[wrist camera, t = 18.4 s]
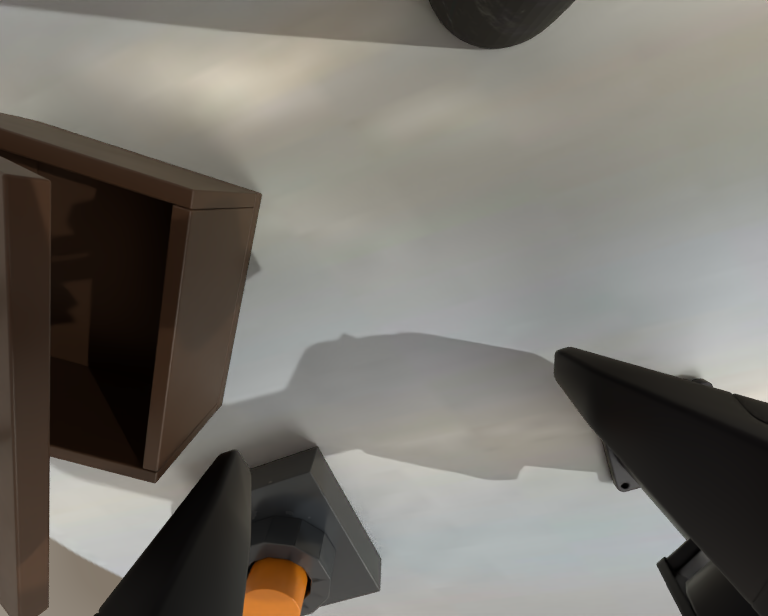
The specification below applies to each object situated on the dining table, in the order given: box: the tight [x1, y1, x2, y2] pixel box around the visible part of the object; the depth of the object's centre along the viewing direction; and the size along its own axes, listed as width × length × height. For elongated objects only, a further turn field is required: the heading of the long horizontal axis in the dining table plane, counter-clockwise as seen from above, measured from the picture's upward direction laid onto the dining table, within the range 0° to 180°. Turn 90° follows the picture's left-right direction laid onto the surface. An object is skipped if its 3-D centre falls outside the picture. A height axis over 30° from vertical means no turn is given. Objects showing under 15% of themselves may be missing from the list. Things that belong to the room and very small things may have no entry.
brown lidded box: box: [0, 113, 262, 483], centre depth 16 cm, size 11×13×6 cm
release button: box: [243, 557, 308, 616], centre depth 20 cm, size 4×4×2 cm
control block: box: [247, 447, 381, 616], centre depth 22 cm, size 11×9×4 cm
